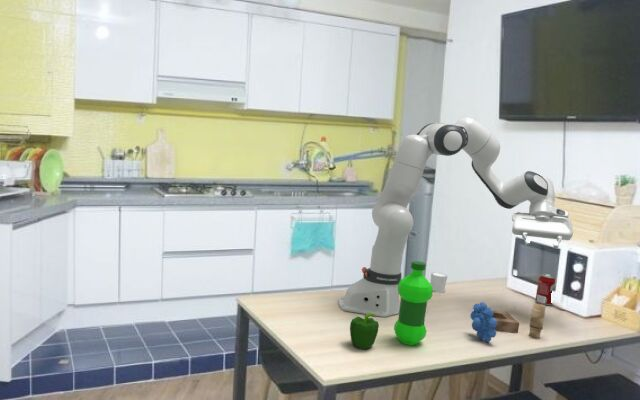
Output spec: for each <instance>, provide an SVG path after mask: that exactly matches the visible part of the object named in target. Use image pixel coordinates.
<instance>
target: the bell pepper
mask: <svg viewBox="0 0 640 400" xmlns="http://www.w3.org/2000/svg"><path fill="white" fill-rule="evenodd" d="M374 315H375V314H373V313H368V314H365V315H364V318H362V317H361V316H359V315H358V316H356V317H355V318H352V319H351V321H350V322H349V323H350V325H349V333H350V334H349V335H350V341H351V343H352V345H354V346H356V347H357V348H358V349H362V350H367V349H369V348H371V347H372V346H373V345H374V344H375V341H376V338H377V336H378V332H379V327H380V325H379V321H376V320H375V319H374V318H373V317H374Z"/></svg>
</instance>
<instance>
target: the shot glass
mask: <svg viewBox="0 0 640 400" xmlns="http://www.w3.org/2000/svg"><path fill="white" fill-rule="evenodd" d="M447 280H448V274H444V273H441V272H431V273H430V284H431V285H432V288H433V291H434V292H433V293H437V292H443V293H444V292H445V288H446V284H447Z"/></svg>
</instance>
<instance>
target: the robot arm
mask: <svg viewBox="0 0 640 400" xmlns="http://www.w3.org/2000/svg"><path fill="white" fill-rule="evenodd" d="M462 150H463V151H464V152H465V153H466V154H467V155H468V156H469V157H470V158H471V168H472V171H474V173H475V174H476V175H477V177H478V178H479V180H480V181H481V182H482V183H483V185H484V186H485V187H486V188H487V189H488V191H489V193H491V194H492V196H493V197H494V200H495V201H496V203H497V204H498V205H499V207H502V208H504V209H507V210H511V209H513V208H515V207H517V206H519V205H520V204H522V203H524V202H527V201H528V202H529V203H530V204H529V212H520V211H517V212H514V213H513V214H512V215H511V220H512V222H513V224H512V230H511V233H512V234H513V235H515V236H521V237H522V240H523V241H524V245H525V246H530V244H531V239H530V238H528V237H533V238H543V239H552V240H556V241H554V242H553V249H556V250H557V249H559V246H560V243H561V242H562V241H570V240H571V239H572V238H573V233H574V231H573V223H572V221H571V219H570V218H569V212H568V211H566V210H564V209H562V208H561V209H560V208H558V207H556V206H555V201H556V199H555V198H556V195H555V193H556V192H555V186H554V184H553V181H552V180H551V179H550V178H549V177H548V176H544V175H540V174H538V173H536V172H534V171H531V170H528V171H525V172H523V173H521V174H519V175H516V176H515V177H513V178H511V179H510V180H508V181H501V180H500V179H499V178H498V177H497V176H496V174H495V172H494V171H493V170H492V169H491V167H492V166H493V164H494V163H495V162H496V160H497V158H498V157H499V155H500V152H501V143H500V140H499V139H498V138H497V137H496V135H494V134H493V132H492V131H490V130H489V129H488V128H487V127H486V126H484V125H483V124H482V123H480V122H479V121H477V120H476V119H473V118H472V117H469V116H468V117H467V116H466V117H462V118H460V119H458V120H457V121H456V122H455V123H454V124H449V123H445V122H444V123H443V122H437V123H435V122H434V123H428V124H425V125H423V127H422V128H421V129H420V130H419V132H417V133H416V134H408V135H406V136H404V138H403V140H402V141H401V142H400V145H399V146H398V149H397V151H396V154H395V157H394V159H393V163H392V165H391V168H390V172H389V174H388V178H387V180H386V182H385V185H384V187H383V189H382V190H381V193H380V195H379V197H378V200H377V201H376V203H375V204H374V205H373V207H372V211H371V216H372V217H371V218H372V220H373V223H374V224H375V226H376V227H378V231H377V235H376V238H375V241H374V244H373V245H372V248H371V249H372V250H371V256H370V257H371V259H370V265H369V268H367V267H365V266H364V267H362V268H361V272H362V273H363V277H362V278H361V279H359V280H358V281H355V282H354V283H352V284H350V285H349V286H348V287H347V290H346V293H345V295H344V296H342V297H339V299H338V307H339V308H340V310H343V311H345V312H350V313H356V314H363V315H367V314H368V313H373V314H375V315H374V316H375V317H380V318H381V317H382V318H388V317H389V316H393V315H399V309H400V295H399V293H398V284H399V282H400V280H402V279H403V276H402V272H401V271H402V264H403V255H404V251H405V247H406V244H407V241H408V238H409V234H410V233H411V231H413V230H412V229H413V227H414V224H415V223H414V218H413V215H412V213H411V212H410V211H409V209H408V206H409V203H410V202H411V200H412V198H413V197H414V195H416V193H417V192H418V189H419V186H420V183H421V180H422V177H423V175H424V170H425V168H426V165H427V162H428V159H429V158H430V157H431V156H432V155H437V156H446V157H447V156H448V157H451V156H454V155H457V154H458V153H459V152H461V151H462ZM374 316H373V317H374Z"/></svg>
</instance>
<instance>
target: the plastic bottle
mask: <svg viewBox="0 0 640 400" xmlns="http://www.w3.org/2000/svg"><path fill="white" fill-rule="evenodd" d="M426 266H427V264H426V262H423V261H419V260H417V261H416V260H413V261H411V265H410V268H411V269H412V270H411V273H409V274H407V275H406V276H404V277H402V278H401V280H400V282H399V284H398V293H399V297H400V301H399V305H400V309H399V313H398V316H397V317H398V318H397V320H396V321H395V323H394V325H393V330H394V334H395V335H396V337H397V339H398V340H399V341H400V342H401V343H402V344H404V345H408V346H415V345H417V344H418V343H420V342H421V341H423V340H424V339H425V337H426V335H427V329H426V326H425V319H426V312H427V307H428V306H427V304H428V301H429V300H432V296H433V293H434V292H433V288H432V285H431V282H430V281H429V280H428V279H427V278H426V276H425V275H424V271H425V270H426Z"/></svg>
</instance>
